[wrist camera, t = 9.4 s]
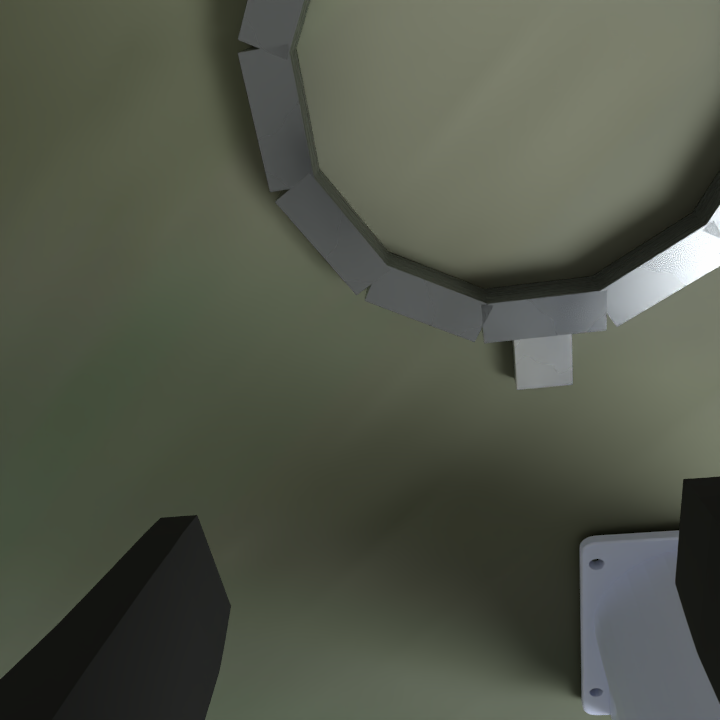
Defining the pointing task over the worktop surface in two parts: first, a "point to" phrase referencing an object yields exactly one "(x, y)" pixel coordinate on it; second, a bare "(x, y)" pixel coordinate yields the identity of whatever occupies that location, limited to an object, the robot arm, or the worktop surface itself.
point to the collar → (425, 285)
